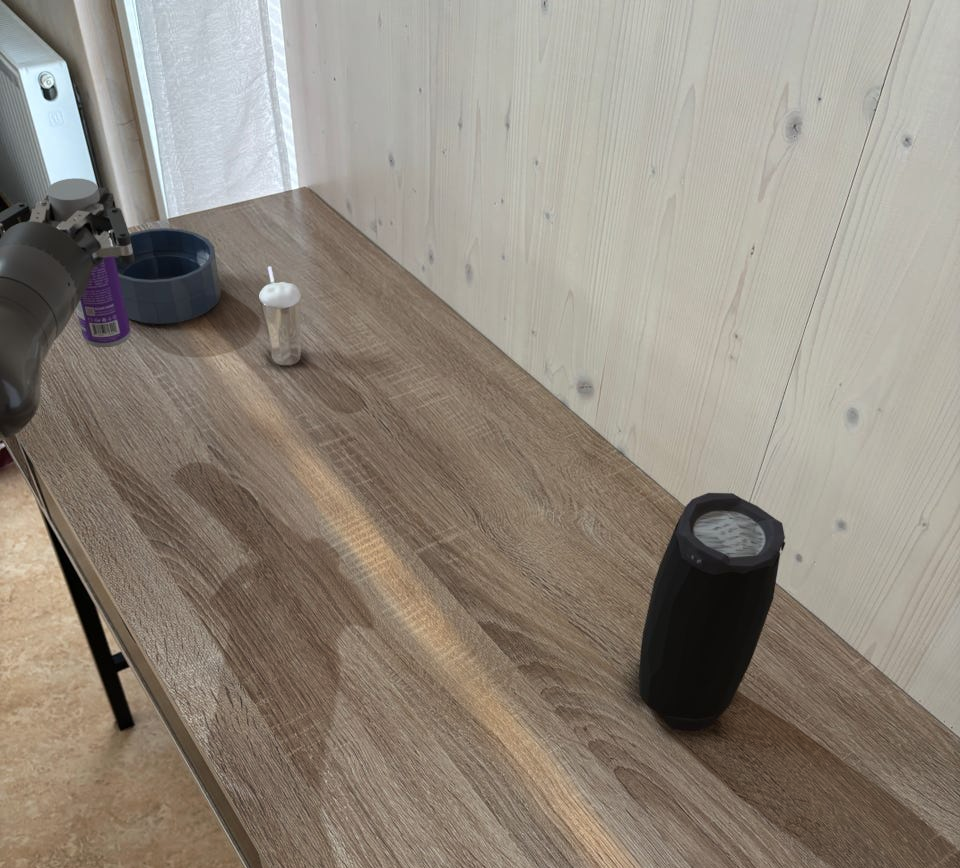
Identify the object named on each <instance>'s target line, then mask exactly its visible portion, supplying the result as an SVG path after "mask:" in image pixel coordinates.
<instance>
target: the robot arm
mask: <svg viewBox="0 0 960 868" xmlns="http://www.w3.org/2000/svg"><path fill="white" fill-rule="evenodd" d="M98 190H99V195H100V200H99V201H98V202H97V203H94V204H92V205H90V206H89V207H88V208H87V209H86V210H85V211H81V210H77V211H76V212H75V213H74V214H73V215H72V216H71V217H70V218H69V219H68V220H67V221H62V222H58V221H55V219H54V215H53V210H52V208H51V204H50V202H49V198H48V194H47V195H46V196H45V198H44V199H43V200H42V199H41V200H38V201H37V202H36V203H35V206H30V205H29V203H27V202H25V201H21V202H17V203H15V204H13V205H11V206H9V207H7V208H6V209H5V210H3V211H1V212H0V442H3V441H5V440H7V439H9V438H11V437H14V436H15V435H17V434H18V433H20V432H21V431H22V430H23V429H24V428H26V427H27V426H28V424H29V423H30V422H31V421H32V419H33V418H34V417H35V415H36V414H37V411H38V409H39V406H40V402H41V388H42V376H43V363H44V361H45V359H46V357H47V356H48V354H49V352H50V350H51V348H52V346H53V344H54V343H55V341H56V340H57V339H58V338H59V337H60V335H61V334H62V333H63V332H64V330H65V329H66V327H67V325H68V323H69V322H70V320H71V318H72V316H73V314H74V313H75V311H76V307H77V305H78V303H79V301H80V299H81V298H82V296H83V294H84V292H85V290H86V288H87V286H88V283H89V280H90V275H91V271H92V270H93V269H94V268H95V267H97V266H99V265H100V264H101V263H102V261H103V258H107V257H120V260H121V262H122V263H124V264H130V263H133V262H134V261H135V259H134V254H133V250H132V245H131V240H130V235H129V234H130V232H129V228H128V226H127V222H126V220H125V218H124V214H123V212H122V209H121V208H120V207H117V206H116V202H115V199H114V193H111V192H110V190H109V188H108V187H100V186H99V187H98ZM17 219H18V223H15V222H16V220H17ZM108 232H109V237H107V238H106V241H105V242H103V243H100V240H101V239H102V238H103V237H104V236H105V235H106V234H107V233H108Z"/></svg>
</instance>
